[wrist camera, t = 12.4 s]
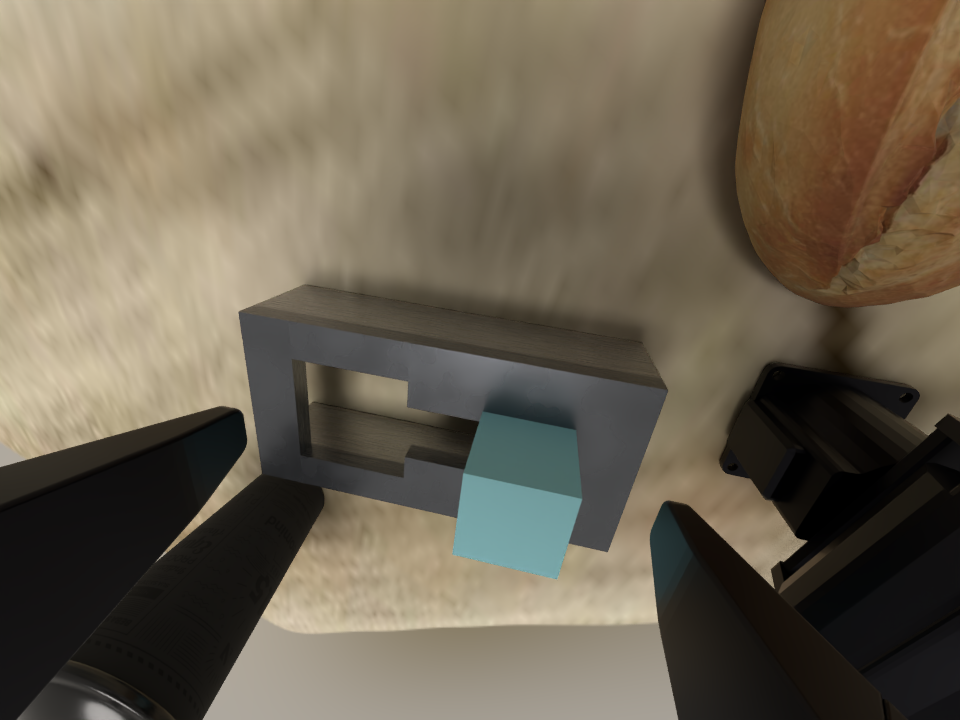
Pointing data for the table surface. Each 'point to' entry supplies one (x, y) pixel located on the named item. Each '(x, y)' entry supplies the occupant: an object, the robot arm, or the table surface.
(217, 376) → the table surface
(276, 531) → the drinking cup
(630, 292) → the table surface
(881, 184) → the bread roll
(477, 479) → the peg
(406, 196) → the table surface
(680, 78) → the table surface
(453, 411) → the keyhole plate
